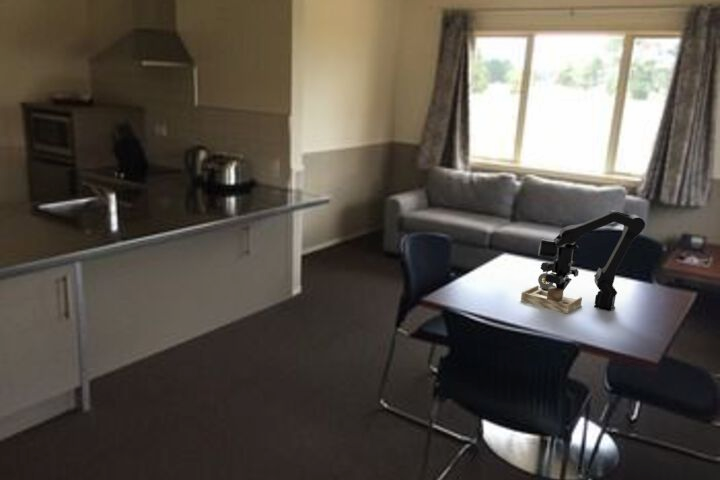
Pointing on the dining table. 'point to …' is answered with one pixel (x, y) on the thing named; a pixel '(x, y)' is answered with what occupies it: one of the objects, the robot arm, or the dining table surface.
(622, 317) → the dining table surface
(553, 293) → the block
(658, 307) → the dining table surface
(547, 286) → the pocket watch
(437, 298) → the dining table surface
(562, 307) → the trap box
